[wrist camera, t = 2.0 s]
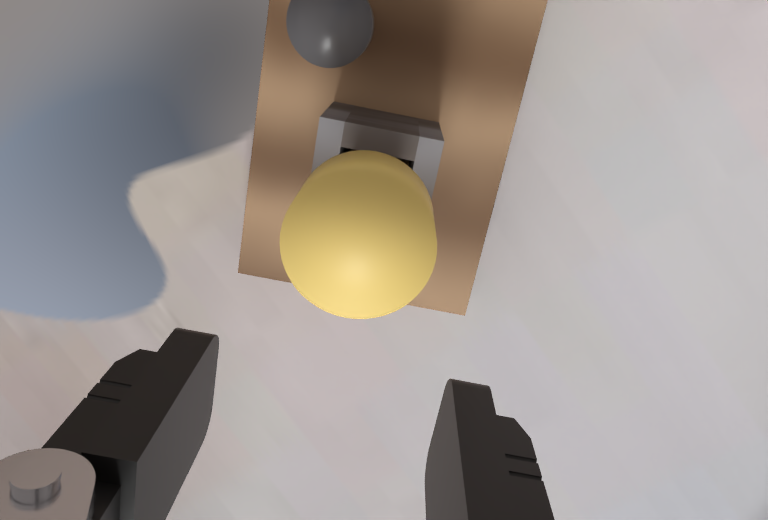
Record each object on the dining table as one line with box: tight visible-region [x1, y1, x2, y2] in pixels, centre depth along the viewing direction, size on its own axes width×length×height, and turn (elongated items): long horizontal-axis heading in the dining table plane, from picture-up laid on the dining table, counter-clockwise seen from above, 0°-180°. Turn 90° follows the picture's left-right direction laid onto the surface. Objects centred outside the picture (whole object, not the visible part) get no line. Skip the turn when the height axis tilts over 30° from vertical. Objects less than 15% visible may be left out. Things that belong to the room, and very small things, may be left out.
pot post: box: [286, 0, 374, 68], centre depth 25 cm, size 3×3×7 cm
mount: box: [238, 0, 548, 315], centre depth 27 cm, size 26×12×8 cm, turn 169°
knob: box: [280, 150, 437, 319], centre depth 23 cm, size 5×5×8 cm
